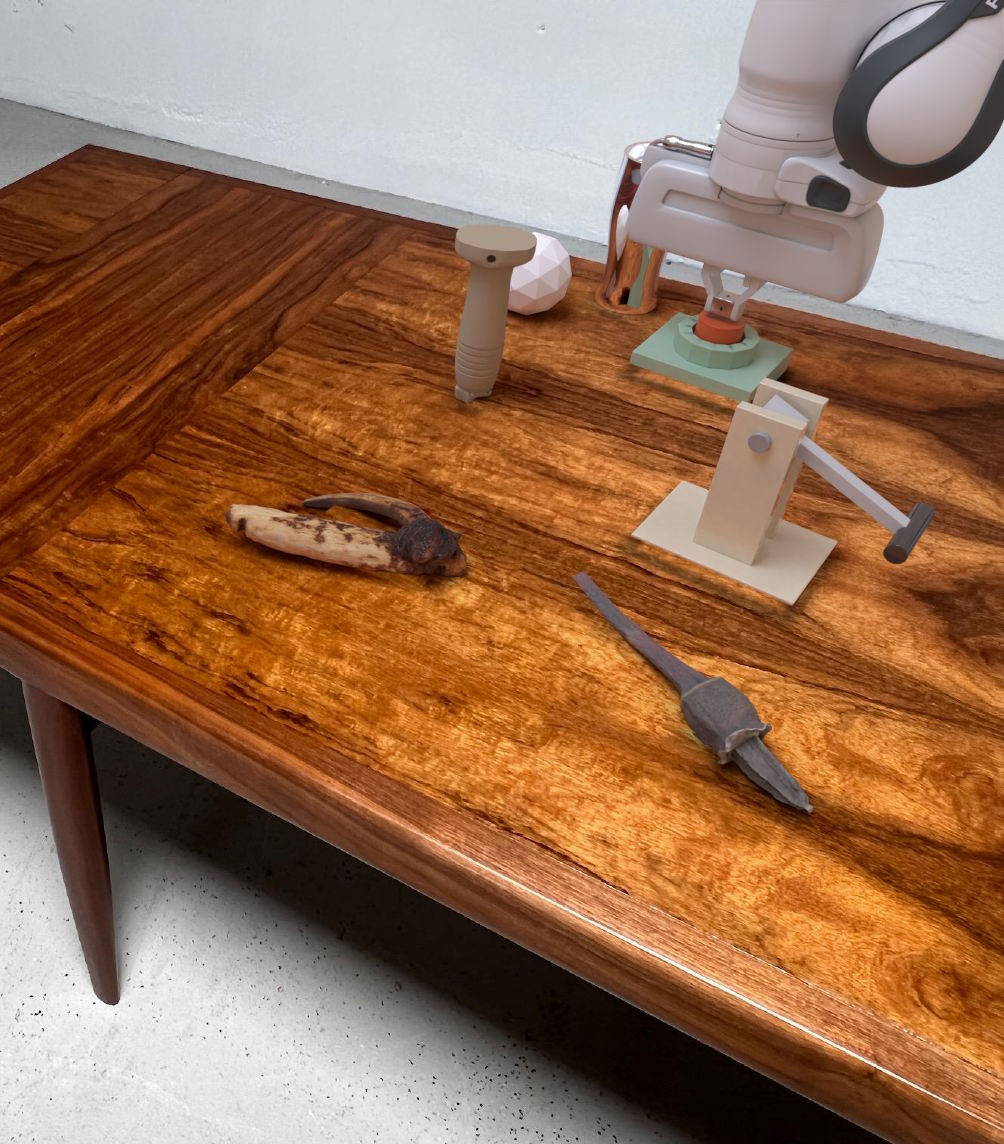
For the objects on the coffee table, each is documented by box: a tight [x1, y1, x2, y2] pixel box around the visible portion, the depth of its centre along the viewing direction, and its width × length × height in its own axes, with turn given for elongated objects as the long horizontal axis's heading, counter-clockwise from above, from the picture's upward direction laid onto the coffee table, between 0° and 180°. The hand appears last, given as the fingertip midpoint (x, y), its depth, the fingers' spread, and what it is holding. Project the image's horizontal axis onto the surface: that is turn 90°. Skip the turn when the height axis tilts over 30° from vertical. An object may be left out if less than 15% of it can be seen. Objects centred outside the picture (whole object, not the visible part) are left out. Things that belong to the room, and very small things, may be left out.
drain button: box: [694, 309, 747, 345], centre depth 100 cm, size 4×4×2 cm
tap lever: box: [763, 394, 936, 565], centre depth 75 cm, size 13×6×2 cm, turn 49°
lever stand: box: [630, 377, 839, 607], centre depth 79 cm, size 12×9×13 cm
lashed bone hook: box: [225, 492, 468, 577], centre depth 83 cm, size 9×5×18 cm
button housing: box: [629, 311, 794, 403], centre depth 102 cm, size 11×10×4 cm
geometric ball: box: [508, 231, 573, 316], centre depth 110 cm, size 8×8×8 cm
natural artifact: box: [572, 571, 814, 814], centre depth 71 cm, size 4×23×4 cm
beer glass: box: [594, 140, 669, 316], centre depth 109 cm, size 7×7×15 cm
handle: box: [454, 223, 537, 405], centre depth 95 cm, size 5×6×15 cm
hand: (722, 314), depth 100 cm, fingers closed
